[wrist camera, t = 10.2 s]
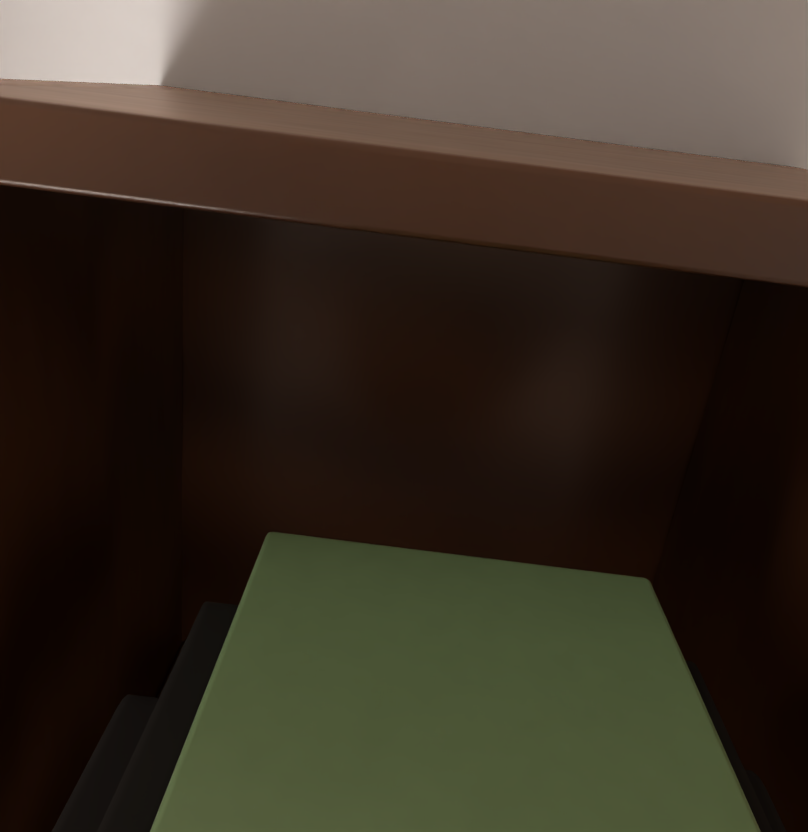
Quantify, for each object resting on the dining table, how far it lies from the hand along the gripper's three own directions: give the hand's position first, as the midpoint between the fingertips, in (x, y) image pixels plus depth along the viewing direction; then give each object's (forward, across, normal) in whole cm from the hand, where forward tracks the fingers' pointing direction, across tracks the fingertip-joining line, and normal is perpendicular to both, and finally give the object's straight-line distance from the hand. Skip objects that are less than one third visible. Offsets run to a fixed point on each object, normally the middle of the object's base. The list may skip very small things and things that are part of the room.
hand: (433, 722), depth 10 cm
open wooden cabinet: (+9, 0, 0) cm, 9 cm away
